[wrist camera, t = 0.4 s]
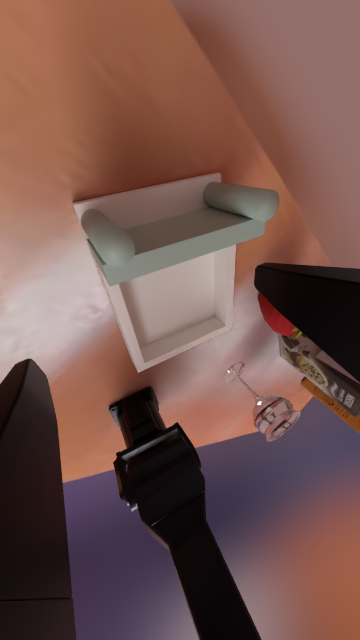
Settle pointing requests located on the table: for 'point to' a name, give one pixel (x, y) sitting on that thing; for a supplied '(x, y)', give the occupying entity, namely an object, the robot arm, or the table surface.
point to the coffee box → (321, 371)
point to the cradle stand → (172, 258)
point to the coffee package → (332, 404)
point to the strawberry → (276, 319)
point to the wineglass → (267, 408)
